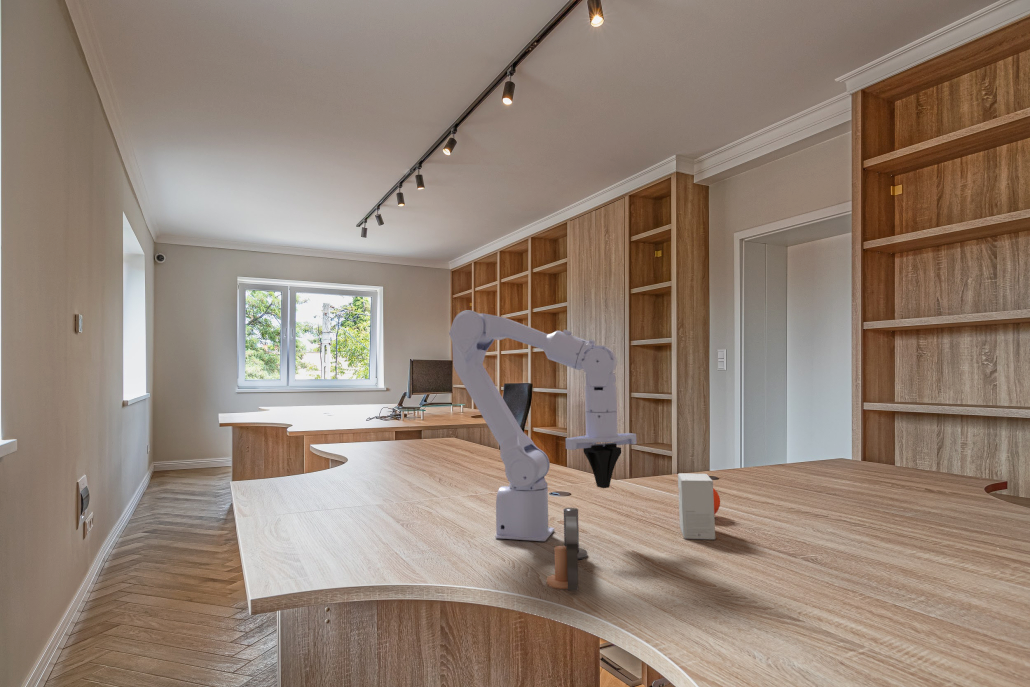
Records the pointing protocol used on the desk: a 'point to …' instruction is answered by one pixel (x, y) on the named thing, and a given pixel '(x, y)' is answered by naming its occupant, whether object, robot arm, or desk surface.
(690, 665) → the desk surface
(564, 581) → the post
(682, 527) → the small box
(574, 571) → the gate leaf
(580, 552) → the gate post
